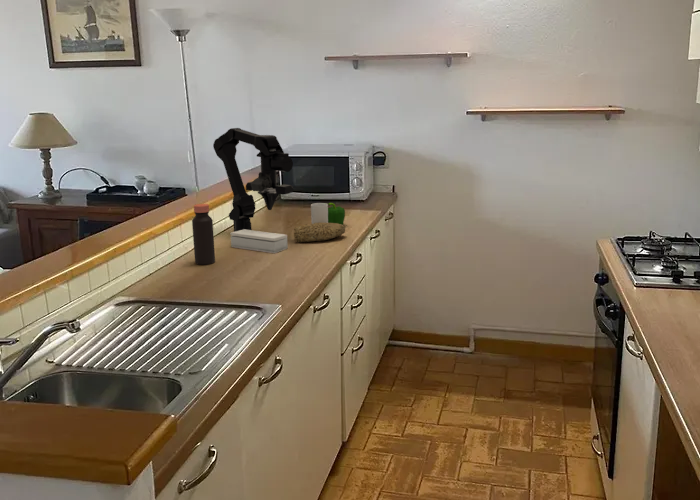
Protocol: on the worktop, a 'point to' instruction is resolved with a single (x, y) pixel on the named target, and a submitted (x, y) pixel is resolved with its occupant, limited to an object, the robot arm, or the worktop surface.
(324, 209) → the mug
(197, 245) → the bottle
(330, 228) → the rock
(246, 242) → the cable tray
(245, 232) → the lid
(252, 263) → the worktop surface
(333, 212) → the bell pepper
